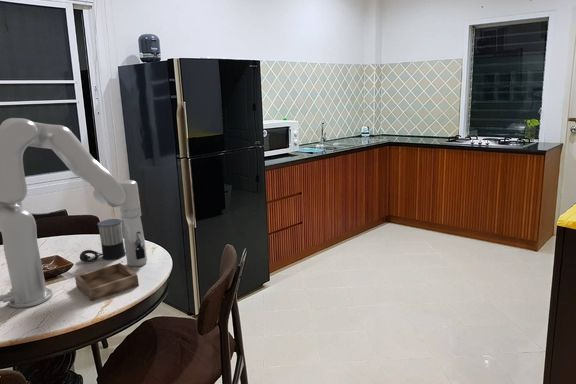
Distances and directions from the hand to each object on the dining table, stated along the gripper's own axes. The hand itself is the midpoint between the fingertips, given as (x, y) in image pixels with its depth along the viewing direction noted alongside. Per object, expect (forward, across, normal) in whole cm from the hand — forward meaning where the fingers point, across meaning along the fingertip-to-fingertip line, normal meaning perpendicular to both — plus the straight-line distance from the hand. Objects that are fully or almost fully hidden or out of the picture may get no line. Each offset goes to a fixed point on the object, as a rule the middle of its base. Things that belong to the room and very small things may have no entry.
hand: (136, 255), depth 173 cm
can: (+4, 0, 0) cm, 4 cm away
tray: (+3, +12, -16) cm, 20 cm away
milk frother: (+4, -17, -7) cm, 19 cm away
